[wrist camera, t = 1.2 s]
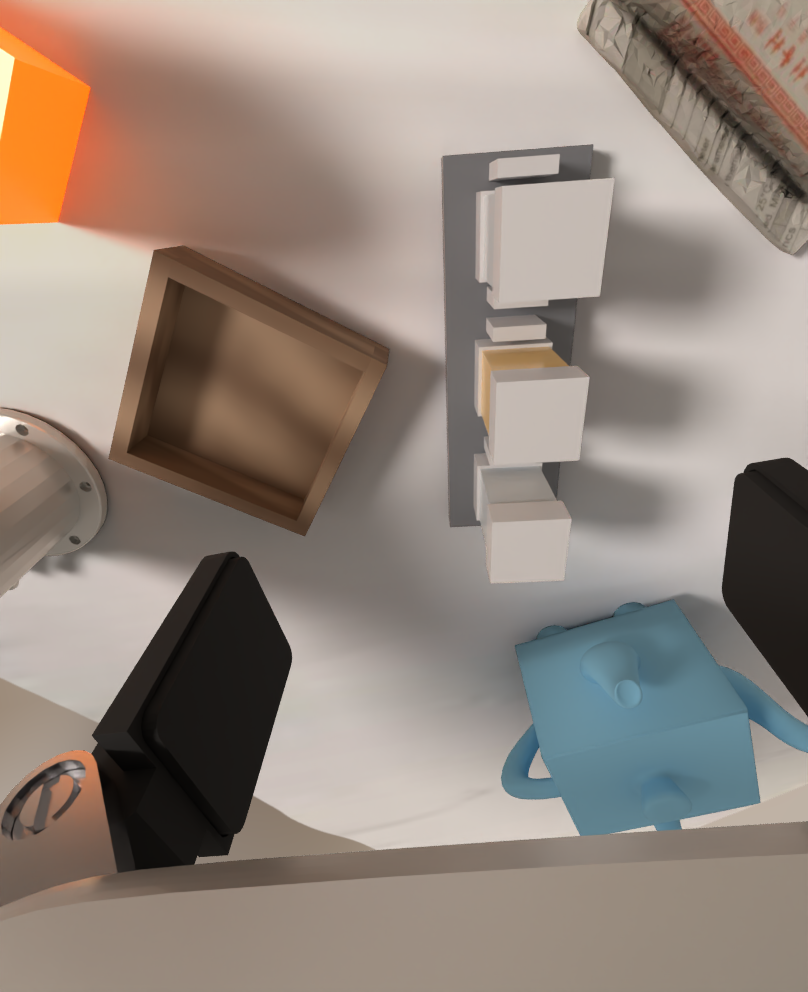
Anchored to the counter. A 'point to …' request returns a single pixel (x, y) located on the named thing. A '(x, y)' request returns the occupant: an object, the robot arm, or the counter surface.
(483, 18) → the counter surface
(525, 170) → the fuse holder
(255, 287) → the walnut tray
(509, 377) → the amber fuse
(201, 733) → the robot arm
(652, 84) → the packaged product
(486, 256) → the block
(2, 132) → the orange juice
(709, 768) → the teakettle
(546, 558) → the block
